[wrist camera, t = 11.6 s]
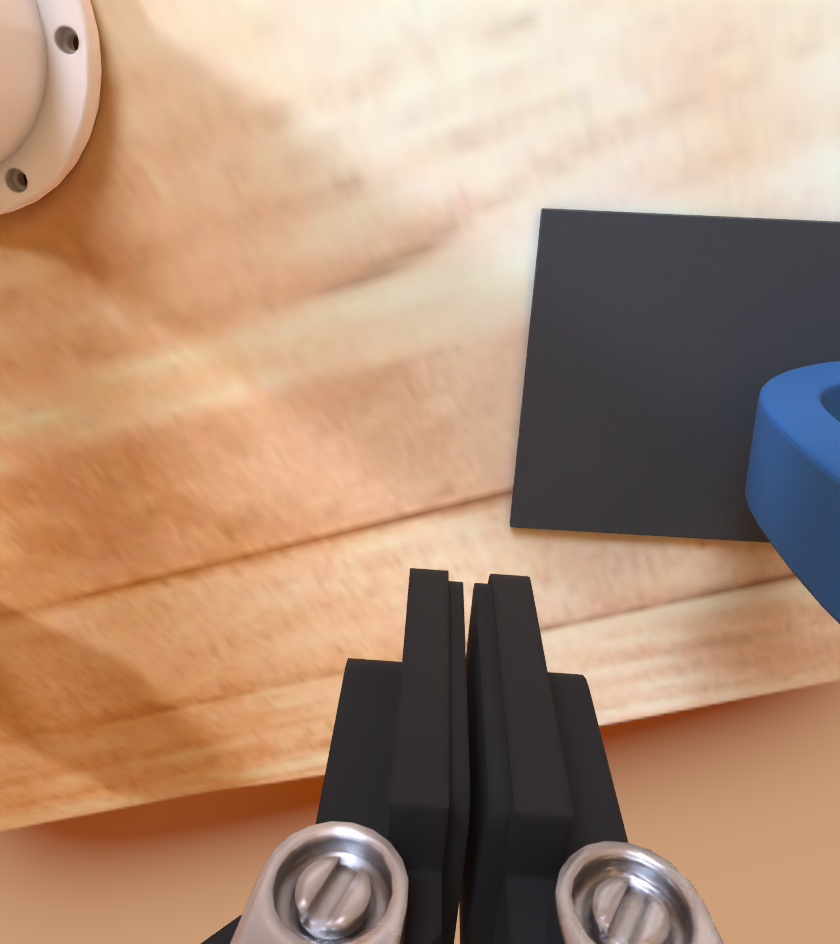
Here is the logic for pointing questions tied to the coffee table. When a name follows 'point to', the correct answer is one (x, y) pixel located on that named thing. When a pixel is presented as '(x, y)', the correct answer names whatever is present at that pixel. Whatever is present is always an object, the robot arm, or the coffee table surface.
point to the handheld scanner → (800, 475)
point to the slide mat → (663, 365)
